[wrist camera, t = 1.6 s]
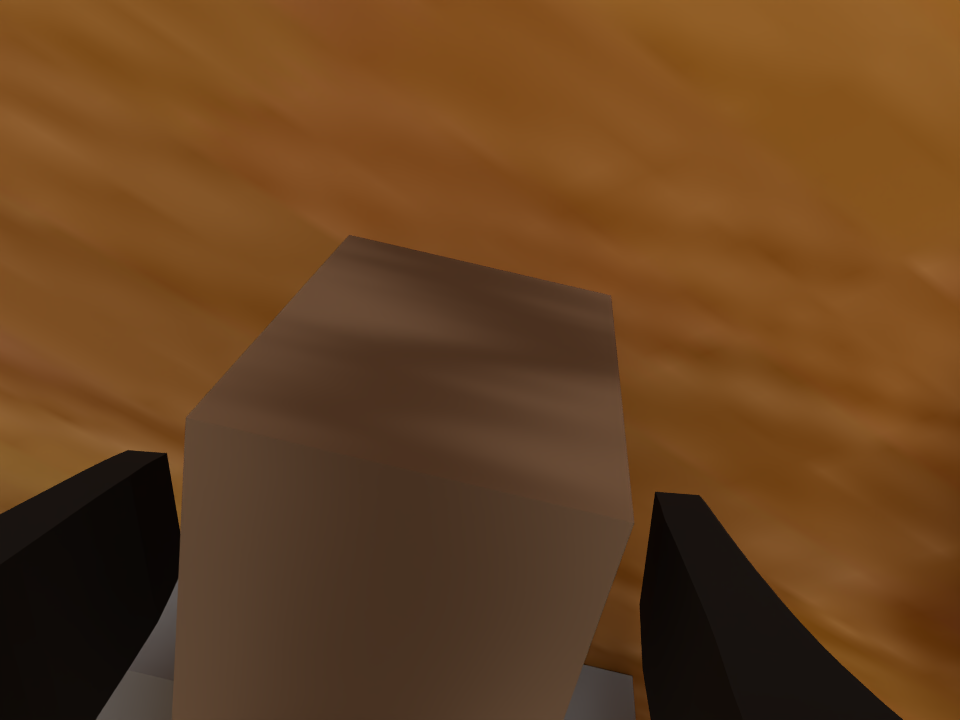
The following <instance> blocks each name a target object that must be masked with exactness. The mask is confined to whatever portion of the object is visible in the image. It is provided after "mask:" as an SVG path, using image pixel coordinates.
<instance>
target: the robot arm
mask: <svg viewBox="0 0 960 720" xmlns="http://www.w3.org/2000/svg"><path fill="white" fill-rule="evenodd" d="M179 555H180V529H179V523H178V517H177V511H176V505H175V499H174V493H173V487H172V481H171V475H170V469H169V463H168V457H167V453H157V452H144V451H131V450H127V451H125V452H123V453H120V454H118V455H115V456H113V457H111V458H109V459H107V460H104V461H102V462H100V463H98V464H96V465H94V466H92V467H90V468H88V469H86V470H84V471H82V472H80V473H79V474H77V475H75V476H73V477H71V478H69V479H67V480H65V481H63V482H61V483H59V484H57V485H56V486H54V487H52V488H50V489H48V490H46V491H44V492H42V493H40V494H38V495H36V496H34V497H33V498H31V499H29V500H27V501H25V502H23V503H21V504H19V505H17V506H15V507H13V508H11V509H10V510H8V511H6V512H4V513H2V514H0V720H96V719H97V717H98V716H99V714H100V713H101V711H102V709H103V708H104V706H105V705H106V703H107V702H108V700H109V699H110V697H111V696H112V694H113V692H114V691H115V689H116V688H117V686H118V685H119V683H120V682H121V680H122V679H123V677H124V675H125V674H126V672H127V671H128V669H129V668H130V666H131V665H132V663H133V661H134V660H135V658H136V657H137V655H138V653H139V652H140V650H141V649H142V647H143V646H144V644H145V642H146V641H147V639H148V638H149V636H150V634H151V633H152V631H153V630H154V628H155V626H156V625H157V623H158V621H159V619H160V617H161V615H162V613H163V611H164V609H165V607H166V605H167V603H168V600H169V598H170V596H171V594H172V592H173V590H174V587H175V585H176V583H177V581H178V577H179ZM640 623H641V645H642V664H643V674H644V680H645V687H646V693H647V699H648V705H649V711H650V717H651V720H903V719H902V718H900V717H899V716H898V715H897V714H896V713H895V712H893V711H892V710H891V709H890V708H889V707H887V706H886V705H885V704H884V703H883V702H882V701H881V700H879V699H878V698H877V697H876V696H875V695H874V694H873V693H872V692H871V691H870V690H869V689H867V688H866V687H865V686H864V685H863V684H862V683H861V682H860V681H859V680H858V679H857V678H855V677H854V676H853V675H852V674H851V673H850V672H849V671H848V670H847V669H846V668H845V667H843V666H842V665H841V664H840V663H839V662H838V661H837V660H836V659H835V658H834V657H833V656H832V655H831V654H830V653H829V652H828V651H827V650H826V649H825V648H824V647H823V646H822V645H821V644H820V643H819V642H818V641H817V640H816V638H815V637H814V636H813V635H812V634H811V633H810V632H809V631H808V630H807V629H806V628H805V627H804V626H803V625H802V624H801V622H800V621H799V620H798V619H797V618H796V617H795V616H794V615H793V613H792V612H791V611H790V610H789V609H788V608H787V607H786V605H785V604H784V603H783V602H782V601H781V600H780V598H779V597H778V596H777V595H776V594H775V592H774V591H773V590H772V589H771V588H770V586H769V585H768V584H767V583H766V582H765V580H764V579H763V578H762V577H761V576H760V574H759V573H758V572H757V571H756V569H755V568H754V567H753V566H752V564H751V563H750V562H749V561H748V559H747V558H746V557H745V555H744V554H743V553H742V551H741V550H740V549H739V547H738V546H737V545H736V544H735V542H734V541H733V540H732V538H731V537H730V536H729V534H728V533H727V531H726V530H725V529H724V527H723V526H722V525H721V523H720V522H719V521H718V519H717V518H716V516H715V515H714V514H713V512H712V511H711V509H710V508H709V507H708V505H707V504H706V503H705V502H704V500H703V499H702V498H701V497H700V496H699V495H689V494H677V493H664V492H655V498H654V505H653V512H652V519H651V527H650V534H649V541H648V548H647V555H646V563H645V570H644V577H643V584H642V591H641V599H640Z"/></svg>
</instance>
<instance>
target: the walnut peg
mask: <svg viewBox="0 0 960 720" xmlns="http://www.w3.org/2000/svg"><path fill="white" fill-rule="evenodd" d="M633 525H634V516H633V506H632V497H631V487H630V477H629V467H628V458H627V448H626V438H625V428H624V419H623V409H622V399H621V389H620V379H619V370H618V360H617V350H616V340H615V331H614V321H613V311H612V301H611V295H606V294H602V293H598V292H594V291H589V290H585V289H581V288H576V287H572V286H568V285H563V284H559V283H555V282H550V281H546V280H542V279H537V278H533V277H529V276H524V275H520V274H516V273H512V272H507V271H503V270H499V269H494V268H490V267H486V266H481V265H477V264H473V263H468V262H464V261H460V260H455V259H451V258H447V257H442V256H438V255H434V254H430V253H425V252H421V251H417V250H412V249H408V248H404V247H399V246H395V245H391V244H386V243H382V242H378V241H373V240H369V239H365V238H360V237H356V236H352V235H349V236H348V237H347V238H346V239H345V240H344V241H343V243H342V244H341V245H340V246H339V247H338V248H337V249H336V250H335V251H334V253H333V254H332V255H331V256H330V257H329V258H328V259H327V260H326V262H325V263H324V264H323V265H322V266H321V267H320V268H319V269H318V270H317V272H316V273H315V274H314V275H313V276H312V277H311V278H310V279H309V281H308V282H307V283H306V284H305V285H304V286H303V287H302V288H301V289H300V291H299V292H298V293H297V294H296V295H295V296H294V297H293V298H292V300H291V301H290V302H289V303H288V304H287V305H286V306H285V307H284V308H283V310H282V311H281V312H280V313H279V314H278V315H277V316H276V317H275V319H274V320H273V321H272V322H271V323H270V324H269V325H268V326H267V327H266V329H265V330H264V331H263V332H262V333H261V334H260V335H259V336H258V338H257V339H256V340H255V341H254V342H253V343H252V344H251V345H250V346H249V348H248V349H247V350H246V351H245V352H244V353H243V354H242V355H241V357H240V358H239V359H238V360H237V361H236V362H235V363H234V364H233V365H232V367H231V368H230V369H229V370H228V371H227V372H226V373H225V374H224V376H223V377H222V378H221V379H220V380H219V381H218V382H217V383H216V384H215V386H214V387H213V388H212V389H211V390H210V391H209V392H208V393H207V395H206V396H205V397H204V398H203V399H202V400H201V401H200V402H199V403H198V405H197V406H196V407H195V408H194V409H193V410H192V411H191V412H190V414H189V415H188V416H187V417H186V426H185V448H184V469H183V491H182V512H181V534H180V555H179V577H178V598H177V619H176V641H175V662H174V684H173V705H172V720H564V717H565V714H566V712H567V709H568V706H569V703H570V700H571V698H572V695H573V692H574V689H575V686H576V684H577V681H578V678H579V675H580V673H581V670H582V667H583V664H584V661H585V659H586V656H587V653H588V650H589V647H590V645H591V642H592V639H593V636H594V633H595V631H596V628H597V625H598V622H599V620H600V617H601V614H602V611H603V608H604V606H605V603H606V600H607V597H608V594H609V592H610V589H611V586H612V583H613V581H614V578H615V575H616V572H617V569H618V567H619V564H620V561H621V558H622V555H623V553H624V550H625V547H626V544H627V541H628V539H629V536H630V533H631V530H632V528H633Z"/></svg>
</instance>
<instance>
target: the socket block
mask: <svg viewBox="0 0 960 720" xmlns="http://www.w3.org/2000/svg"><path fill="white" fill-rule="evenodd" d="M177 598H178V581H177V583H176V585H175V587H174V590H173V592H172V594H171V596H170V598H169V600H168V603H167V605H166V607H165V609H164V611H163V613H162V615H161V617H160V619H159V621H158V623H157V625H156V626H155V628H154V630H153V631H152V633H151V634H150V636H149V638H148V639H147V641H146V642H145V644H144V646H143V647H142V649H141V650H140V652H139V653H138V655H137V657H136V658H135V660H134V661H133V663H132V665H131V666H130V668H129V669H128V671H127V672H126V674H125V675H124V677H123V679H122V680H121V682H120V683H119V685H118V686H117V688H116V689H115V691H114V692H113V694H112V696H111V697H110V699H109V700H108V702H107V703H106V705H105V706H104V708H103V709H102V711H101V713H100V714H99V716H98V717H97V719H96V720H172V705H173V684H174V662H175V641H176V619H177ZM564 720H636V718H635V705H634V692H633V679H632V676H629V675H625V674H621V673H617V672H612V671H608V670H604V669H600V668H596V667H591V666H587V665H583V667H582V670H581V673H580V675H579V678H578V681H577V684H576V686H575V689H574V692H573V695H572V698H571V700H570V703H569V706H568V709H567V712H566V714H565V717H564Z"/></svg>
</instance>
